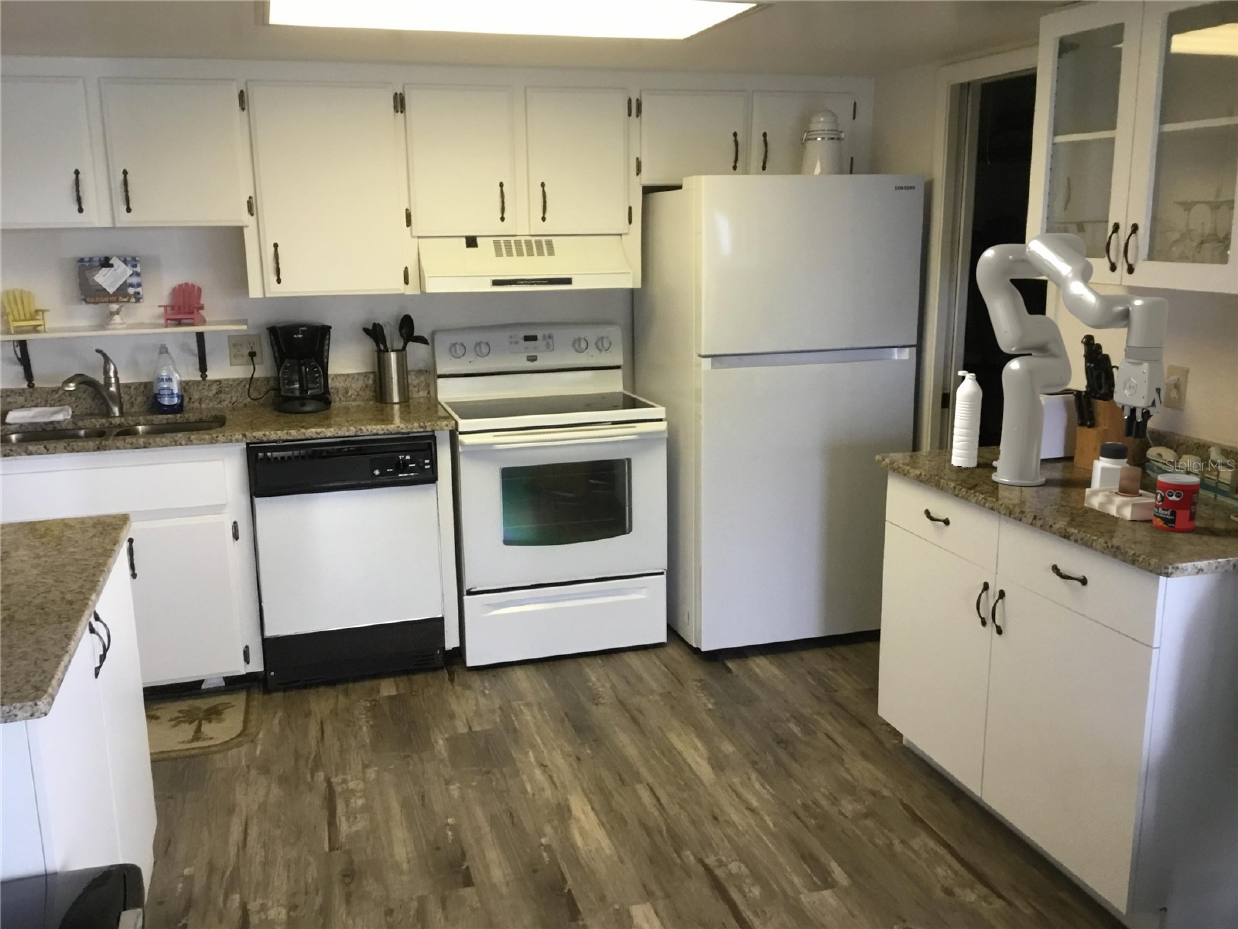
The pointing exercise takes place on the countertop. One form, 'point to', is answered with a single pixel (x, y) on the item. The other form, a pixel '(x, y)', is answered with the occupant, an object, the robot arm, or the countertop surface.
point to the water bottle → (967, 422)
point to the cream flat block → (1121, 503)
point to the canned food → (1176, 502)
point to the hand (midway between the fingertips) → (1134, 436)
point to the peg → (1129, 481)
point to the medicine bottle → (1109, 465)
